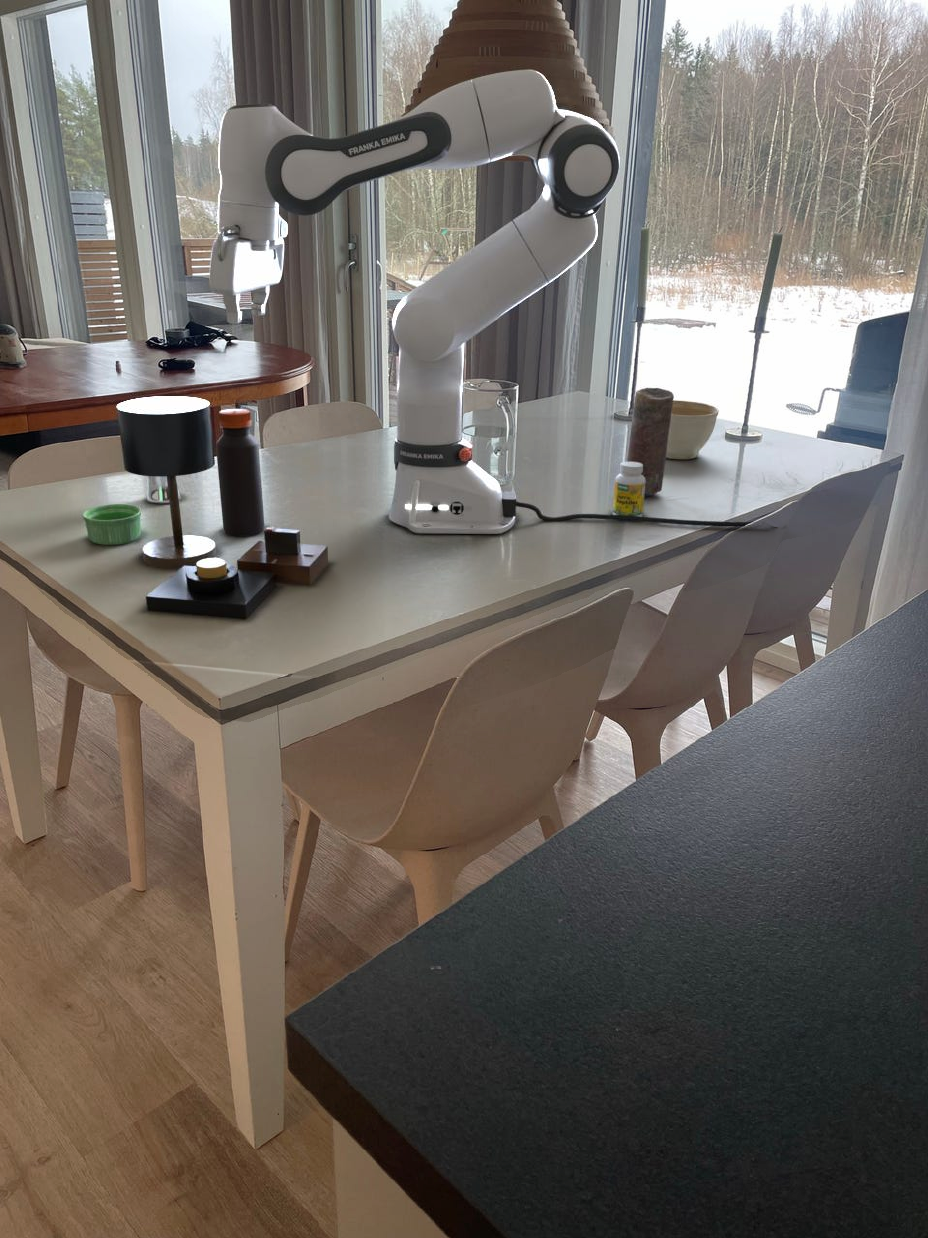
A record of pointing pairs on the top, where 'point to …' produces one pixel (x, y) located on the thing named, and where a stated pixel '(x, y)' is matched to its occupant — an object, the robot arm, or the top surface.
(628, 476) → the supplement bottle
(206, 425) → the table lamp
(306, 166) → the robot arm
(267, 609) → the top surface
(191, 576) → the switch block
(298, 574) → the block
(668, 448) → the planter bowl
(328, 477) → the top surface
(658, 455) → the candle
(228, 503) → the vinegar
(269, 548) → the dimmer knob
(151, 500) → the beer glass
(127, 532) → the ramekin
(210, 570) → the lamp button
